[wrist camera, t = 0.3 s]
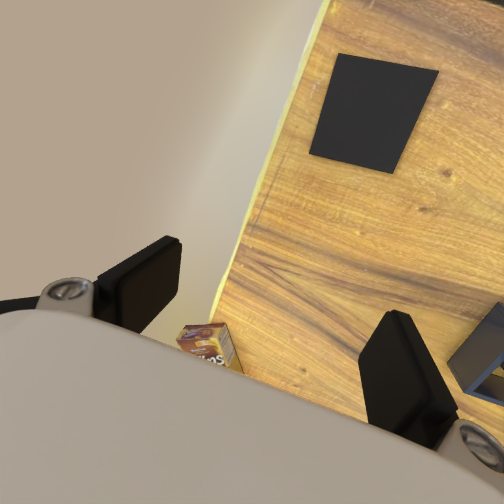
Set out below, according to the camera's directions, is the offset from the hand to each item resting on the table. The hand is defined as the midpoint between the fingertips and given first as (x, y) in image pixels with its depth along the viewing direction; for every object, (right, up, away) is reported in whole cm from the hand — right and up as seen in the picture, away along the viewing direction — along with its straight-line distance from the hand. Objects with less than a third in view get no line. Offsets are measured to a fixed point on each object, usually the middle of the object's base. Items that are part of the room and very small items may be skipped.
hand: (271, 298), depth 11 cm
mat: (+12, +17, +17) cm, 27 cm away
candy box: (-6, -26, +39) cm, 47 cm away
